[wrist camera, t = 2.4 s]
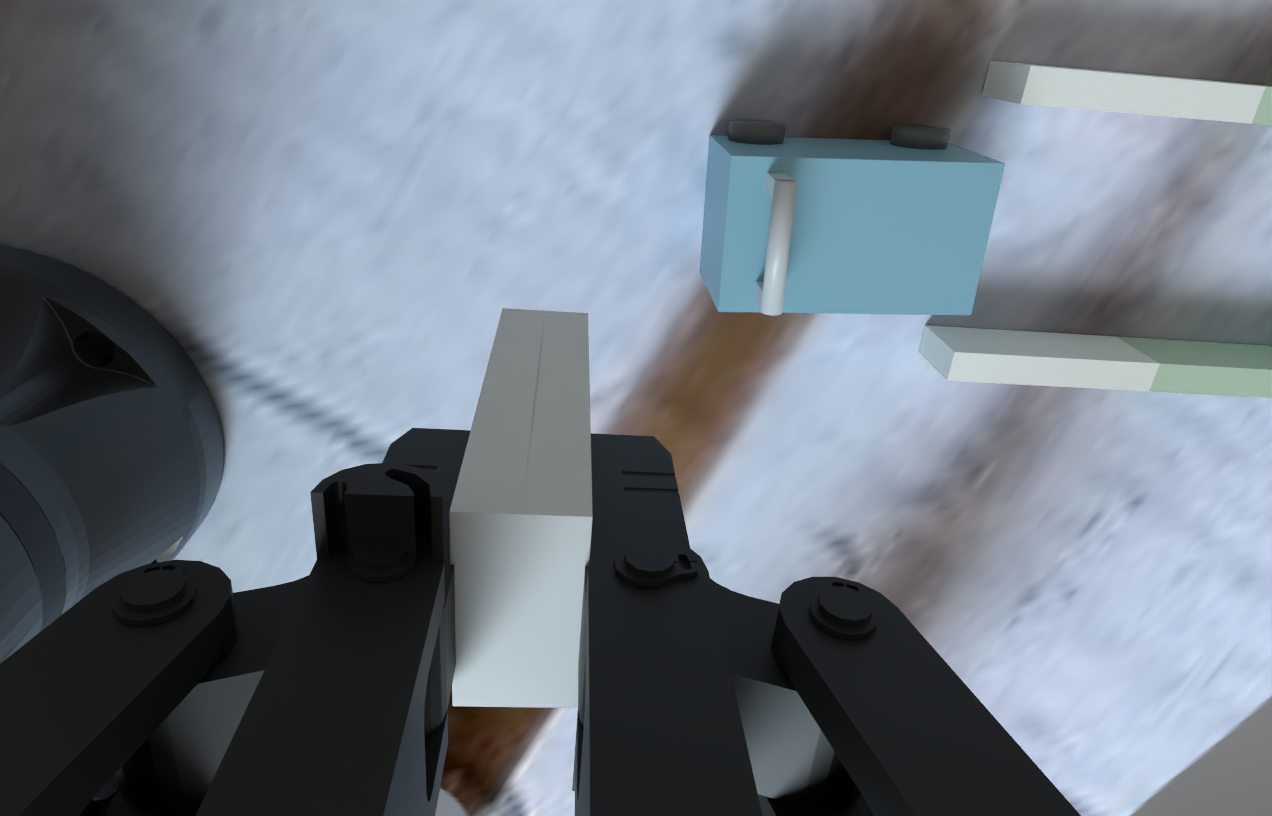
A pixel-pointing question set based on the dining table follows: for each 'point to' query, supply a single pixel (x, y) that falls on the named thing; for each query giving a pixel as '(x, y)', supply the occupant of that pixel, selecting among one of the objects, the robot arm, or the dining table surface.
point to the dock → (1095, 355)
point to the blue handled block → (845, 222)
